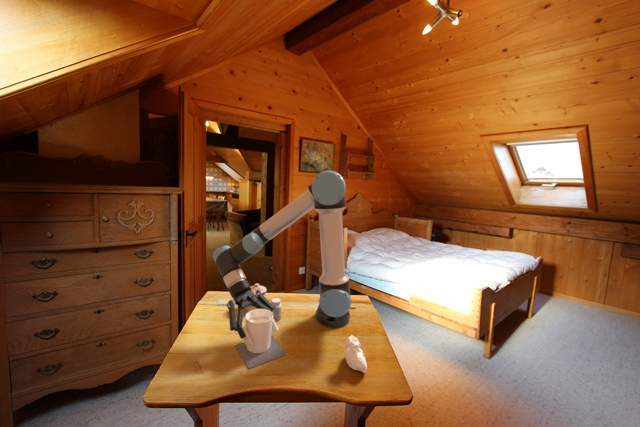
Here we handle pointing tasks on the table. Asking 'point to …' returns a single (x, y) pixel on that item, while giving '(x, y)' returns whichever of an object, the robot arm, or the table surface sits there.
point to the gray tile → (260, 354)
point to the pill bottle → (276, 308)
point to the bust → (355, 355)
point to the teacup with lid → (255, 288)
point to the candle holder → (259, 329)
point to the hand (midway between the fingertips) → (263, 338)
